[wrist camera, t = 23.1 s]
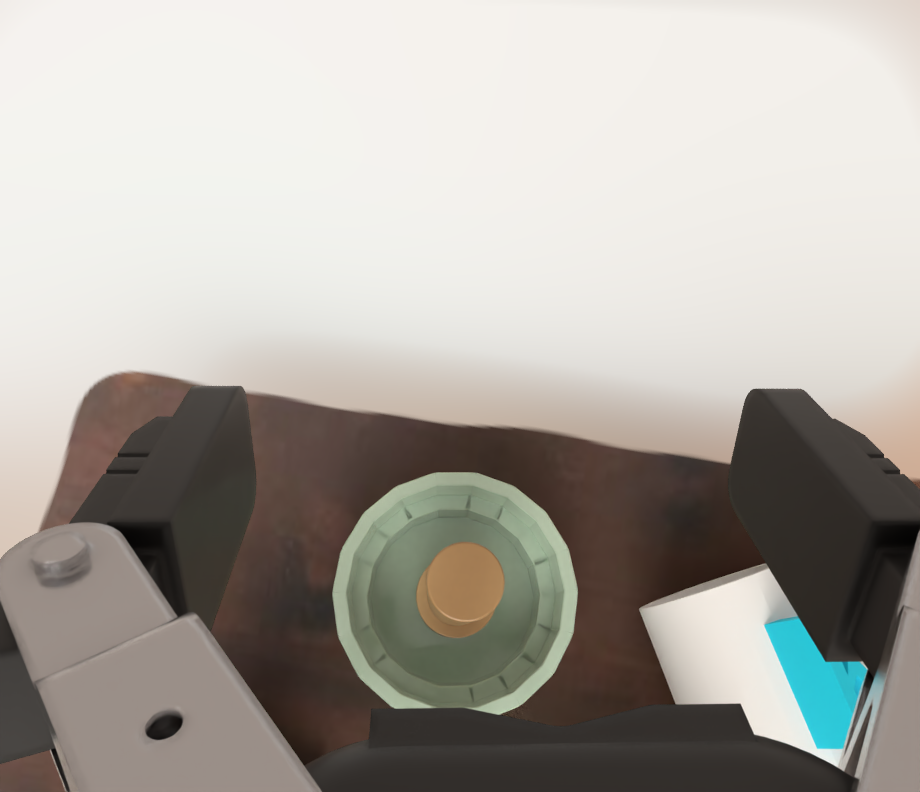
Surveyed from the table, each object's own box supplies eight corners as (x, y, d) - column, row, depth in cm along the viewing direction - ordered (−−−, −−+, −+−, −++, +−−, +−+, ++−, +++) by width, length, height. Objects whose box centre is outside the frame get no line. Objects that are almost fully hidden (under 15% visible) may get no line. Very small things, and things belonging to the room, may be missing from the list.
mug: (908, 943, 24) (751, 580, 28) (713, 899, 32) (608, 618, 35) (1072, 794, 30) (926, 510, 34) (875, 787, 38) (772, 555, 41)
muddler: (410, 630, 36) (401, 627, 24) (424, 554, 37) (422, 517, 25) (485, 644, 36) (511, 648, 24) (497, 567, 37) (527, 536, 25)
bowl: (326, 691, 35) (308, 701, 30) (370, 477, 39) (361, 452, 33) (541, 729, 35) (561, 745, 30) (567, 511, 38) (589, 491, 33)
